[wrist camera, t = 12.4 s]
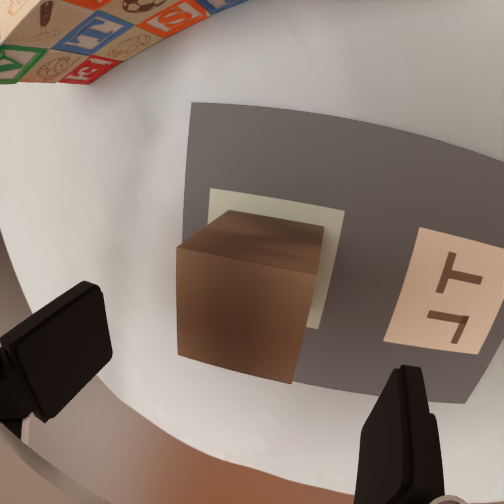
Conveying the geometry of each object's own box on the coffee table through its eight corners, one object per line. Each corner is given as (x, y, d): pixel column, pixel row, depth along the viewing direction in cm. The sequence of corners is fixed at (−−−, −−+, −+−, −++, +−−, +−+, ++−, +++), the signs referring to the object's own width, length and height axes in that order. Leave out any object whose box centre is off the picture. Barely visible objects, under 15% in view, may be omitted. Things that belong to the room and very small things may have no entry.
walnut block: (324, 226, 16) (317, 275, 10) (307, 311, 18) (291, 384, 12) (228, 209, 17) (176, 247, 11) (222, 293, 19) (177, 354, 13)
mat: (553, 184, 11) (555, 185, 11) (463, 401, 17) (464, 404, 17) (193, 102, 15) (191, 102, 15) (182, 350, 21) (181, 352, 21)
